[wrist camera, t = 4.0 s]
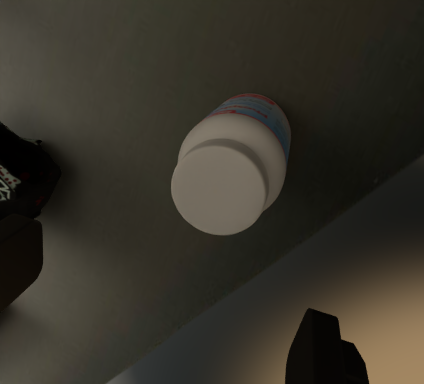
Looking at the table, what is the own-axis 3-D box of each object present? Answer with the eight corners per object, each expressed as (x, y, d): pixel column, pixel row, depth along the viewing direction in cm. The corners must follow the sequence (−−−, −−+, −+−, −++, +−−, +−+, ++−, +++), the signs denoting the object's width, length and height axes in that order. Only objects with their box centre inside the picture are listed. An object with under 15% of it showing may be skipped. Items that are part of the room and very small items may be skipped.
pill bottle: (273, 78, 24) (253, 106, 14) (302, 156, 26) (302, 231, 16) (197, 111, 27) (134, 156, 17) (229, 181, 28) (189, 260, 18)
